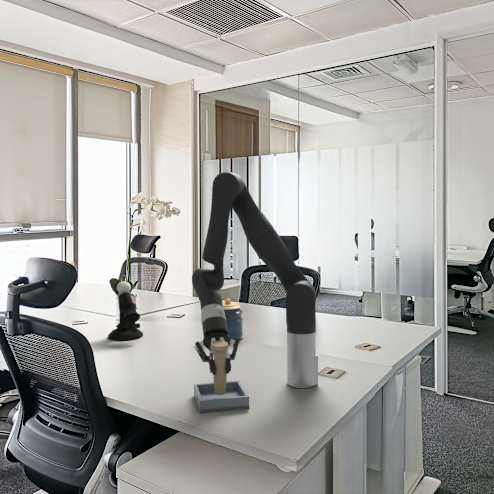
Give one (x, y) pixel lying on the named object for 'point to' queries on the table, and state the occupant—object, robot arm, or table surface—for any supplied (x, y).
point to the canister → (233, 319)
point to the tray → (221, 397)
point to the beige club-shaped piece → (220, 366)
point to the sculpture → (126, 316)
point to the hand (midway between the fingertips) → (221, 372)
